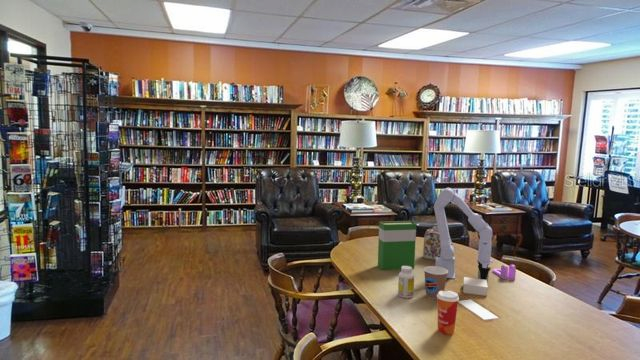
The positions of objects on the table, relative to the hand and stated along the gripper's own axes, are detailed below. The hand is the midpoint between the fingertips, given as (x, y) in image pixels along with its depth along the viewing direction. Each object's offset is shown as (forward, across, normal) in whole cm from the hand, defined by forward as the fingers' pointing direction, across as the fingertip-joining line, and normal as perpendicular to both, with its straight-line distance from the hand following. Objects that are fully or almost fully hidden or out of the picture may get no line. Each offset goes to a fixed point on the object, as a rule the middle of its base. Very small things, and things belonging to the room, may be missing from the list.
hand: (482, 277), depth 203 cm
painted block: (+1, -15, +4) cm, 16 cm away
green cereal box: (+2, +5, +43) cm, 43 cm away
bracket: (+2, +13, -10) cm, 16 cm away
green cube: (+2, 0, 0) cm, 2 cm away
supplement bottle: (+2, -33, +33) cm, 47 cm away
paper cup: (+2, -61, +15) cm, 63 cm away
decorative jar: (+2, +31, +24) cm, 39 cm away
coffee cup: (+2, -29, +21) cm, 36 cm away
